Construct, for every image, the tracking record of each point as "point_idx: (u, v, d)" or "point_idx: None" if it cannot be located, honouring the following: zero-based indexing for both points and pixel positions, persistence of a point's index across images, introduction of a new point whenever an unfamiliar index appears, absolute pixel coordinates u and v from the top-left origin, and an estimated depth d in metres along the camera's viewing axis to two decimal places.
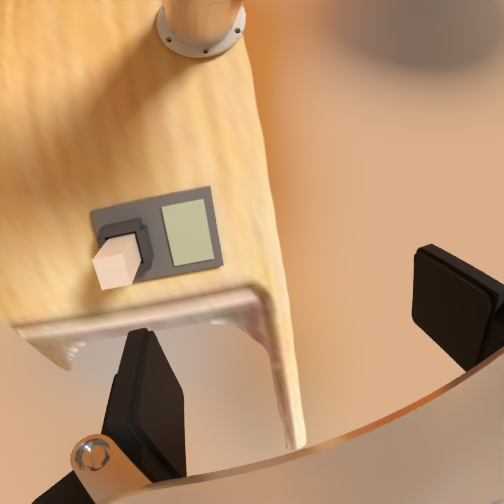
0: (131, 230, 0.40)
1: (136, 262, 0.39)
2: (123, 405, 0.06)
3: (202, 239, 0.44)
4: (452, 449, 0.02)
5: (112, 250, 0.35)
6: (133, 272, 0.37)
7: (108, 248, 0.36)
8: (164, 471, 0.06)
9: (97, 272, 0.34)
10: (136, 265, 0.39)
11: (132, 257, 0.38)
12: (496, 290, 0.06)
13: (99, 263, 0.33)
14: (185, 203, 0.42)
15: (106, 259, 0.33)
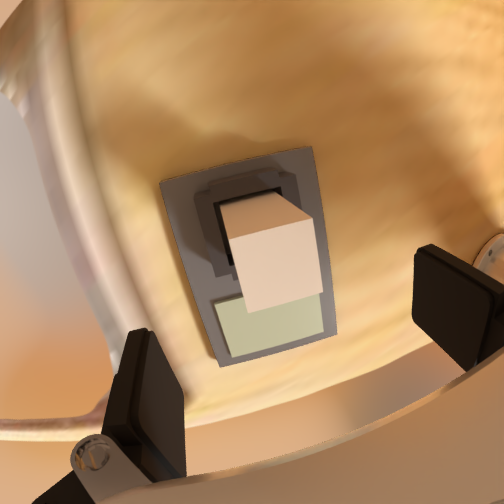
0: None
1: None
2: (123, 405, 0.06)
3: (263, 339, 0.28)
4: (452, 449, 0.02)
5: None
6: None
7: None
8: (164, 471, 0.06)
9: (279, 230, 0.14)
10: None
11: None
12: (496, 290, 0.06)
13: (303, 237, 0.15)
14: (319, 310, 0.28)
15: (312, 255, 0.15)
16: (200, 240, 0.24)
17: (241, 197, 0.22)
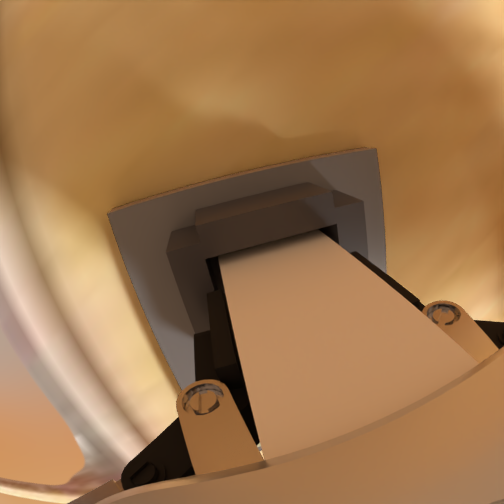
0: None
1: None
2: (227, 349, 0.07)
3: None
4: (452, 449, 0.02)
5: None
6: None
7: None
8: None
9: None
10: None
11: None
12: None
13: None
14: None
15: None
16: (185, 310, 0.14)
17: None
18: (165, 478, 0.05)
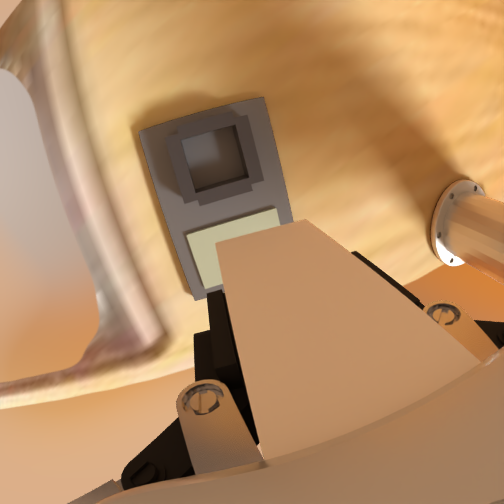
0: (250, 170, 0.26)
1: None
2: (227, 349, 0.07)
3: None
4: (452, 449, 0.02)
5: None
6: None
7: None
8: None
9: None
10: None
11: None
12: None
13: None
14: None
15: None
16: (172, 177, 0.28)
17: (258, 240, 0.12)
18: (165, 478, 0.05)
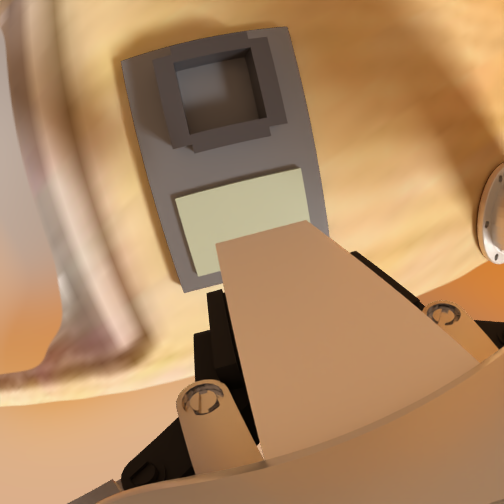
0: (268, 107, 0.18)
1: None
2: (227, 349, 0.07)
3: None
4: (452, 449, 0.02)
5: None
6: None
7: None
8: None
9: None
10: None
11: None
12: None
13: None
14: (307, 214, 0.23)
15: None
16: (161, 119, 0.19)
17: (259, 241, 0.12)
18: (165, 478, 0.05)
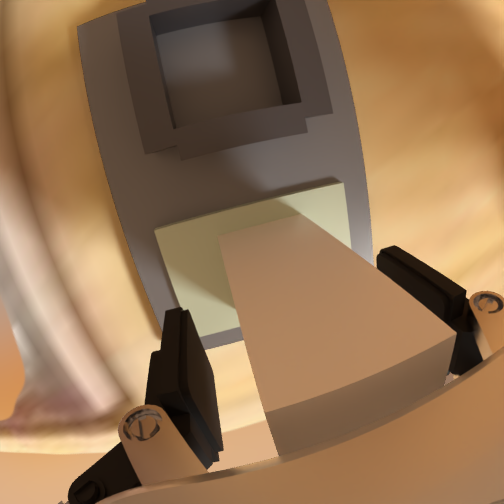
0: (303, 87, 0.10)
1: None
2: (171, 375, 0.07)
3: None
4: (452, 449, 0.02)
5: None
6: None
7: None
8: (206, 442, 0.07)
9: (389, 373, 0.05)
10: None
11: None
12: (451, 292, 0.07)
13: (429, 374, 0.05)
14: None
15: None
16: (131, 107, 0.12)
17: (258, 233, 0.13)
18: (105, 498, 0.04)
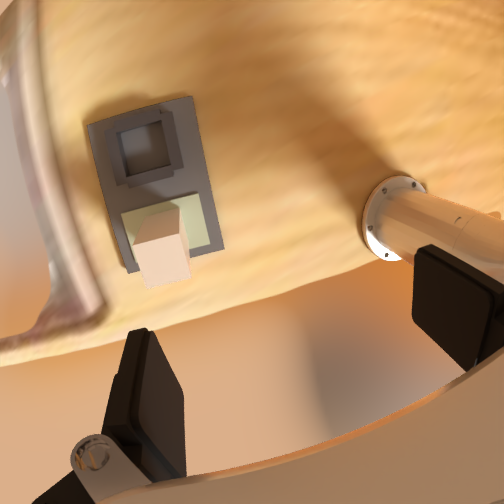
0: (171, 158, 0.29)
1: None
2: (123, 405, 0.06)
3: None
4: (452, 449, 0.02)
5: (185, 249, 0.27)
6: None
7: (183, 236, 0.28)
8: (164, 471, 0.06)
9: (159, 240, 0.24)
10: None
11: None
12: (496, 290, 0.06)
13: (174, 244, 0.24)
14: (204, 223, 0.35)
15: (181, 255, 0.25)
16: (112, 164, 0.30)
17: (158, 214, 0.32)
18: None
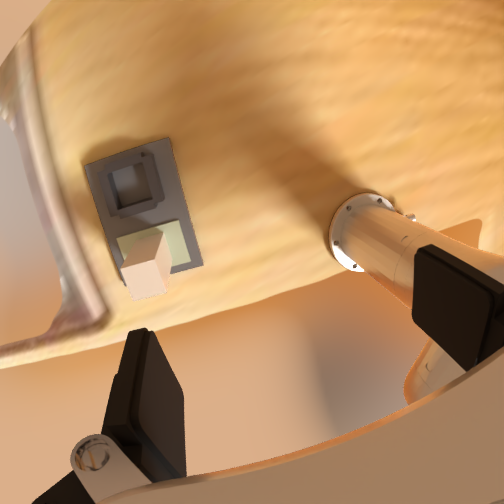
0: (153, 194, 0.36)
1: None
2: (123, 405, 0.06)
3: None
4: (452, 449, 0.02)
5: (163, 270, 0.34)
6: None
7: (161, 259, 0.34)
8: (164, 471, 0.06)
9: (140, 264, 0.31)
10: None
11: None
12: (496, 290, 0.06)
13: (151, 267, 0.31)
14: (184, 244, 0.41)
15: (157, 275, 0.31)
16: None
17: (146, 239, 0.39)
18: None
